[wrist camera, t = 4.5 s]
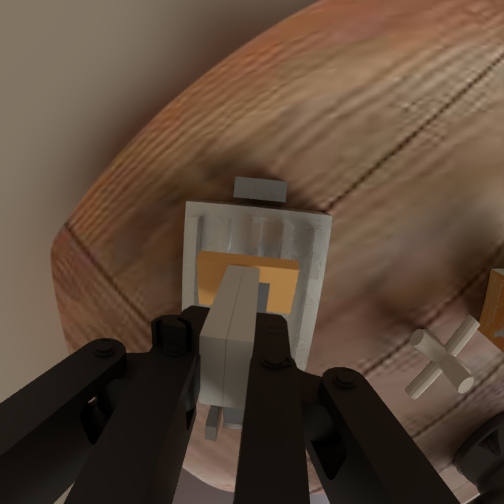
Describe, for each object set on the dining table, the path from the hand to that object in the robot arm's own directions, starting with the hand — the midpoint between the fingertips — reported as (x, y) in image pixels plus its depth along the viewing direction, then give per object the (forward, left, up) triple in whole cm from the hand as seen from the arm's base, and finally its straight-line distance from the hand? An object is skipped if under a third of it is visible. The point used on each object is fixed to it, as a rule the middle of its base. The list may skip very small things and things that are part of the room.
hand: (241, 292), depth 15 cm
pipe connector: (-9, -20, -14) cm, 26 cm away
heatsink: (-7, 0, -13) cm, 15 cm away
